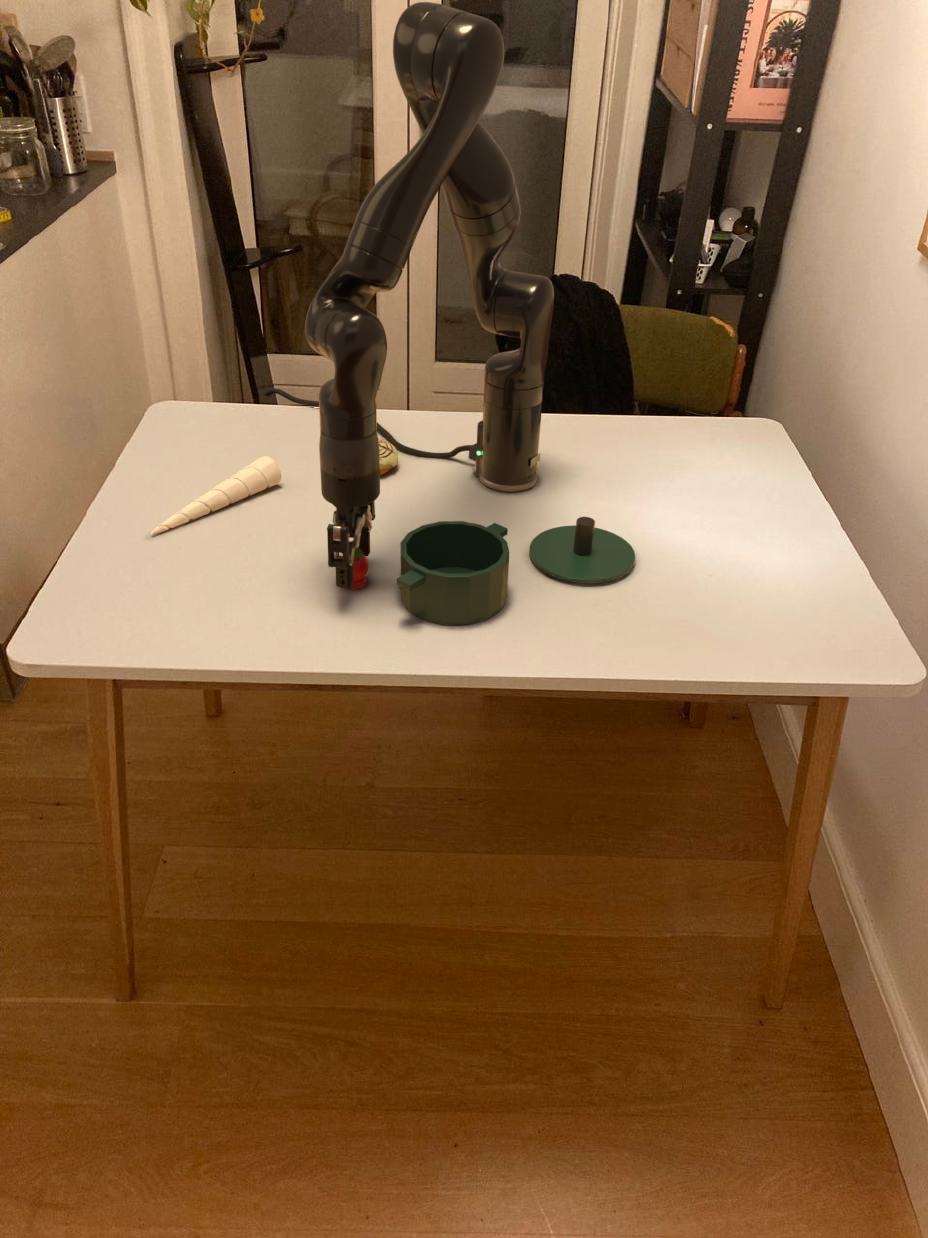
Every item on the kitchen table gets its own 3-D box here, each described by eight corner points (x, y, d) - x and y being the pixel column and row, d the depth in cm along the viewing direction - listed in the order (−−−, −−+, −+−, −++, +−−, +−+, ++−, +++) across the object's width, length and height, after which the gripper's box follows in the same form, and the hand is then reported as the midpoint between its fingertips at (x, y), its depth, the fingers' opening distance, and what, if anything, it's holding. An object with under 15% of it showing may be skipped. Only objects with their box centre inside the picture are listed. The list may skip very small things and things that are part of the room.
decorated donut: (409, 472, 163) (409, 451, 161) (352, 487, 158) (352, 466, 156) (378, 448, 170) (377, 428, 168) (322, 462, 165) (321, 441, 163)
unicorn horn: (136, 528, 145) (131, 499, 143) (265, 477, 160) (263, 450, 157) (154, 539, 143) (149, 510, 140) (284, 487, 157) (281, 460, 155)
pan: (364, 604, 131) (363, 556, 126) (460, 549, 143) (462, 503, 139) (444, 648, 123) (445, 598, 119) (538, 585, 136) (542, 539, 131)
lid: (507, 559, 141) (510, 521, 138) (569, 521, 151) (573, 485, 147) (595, 599, 133) (600, 561, 130) (654, 556, 143) (660, 520, 139)
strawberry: (332, 582, 135) (330, 547, 132) (354, 571, 137) (353, 536, 134) (353, 594, 133) (352, 559, 129) (375, 582, 135) (375, 547, 132)
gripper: (337, 436, 131) (341, 541, 140) (303, 483, 119) (311, 595, 128) (392, 442, 130) (393, 548, 139) (363, 490, 118) (367, 602, 127)
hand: (353, 570), depth 134 cm, fingers open, 8 cm apart
